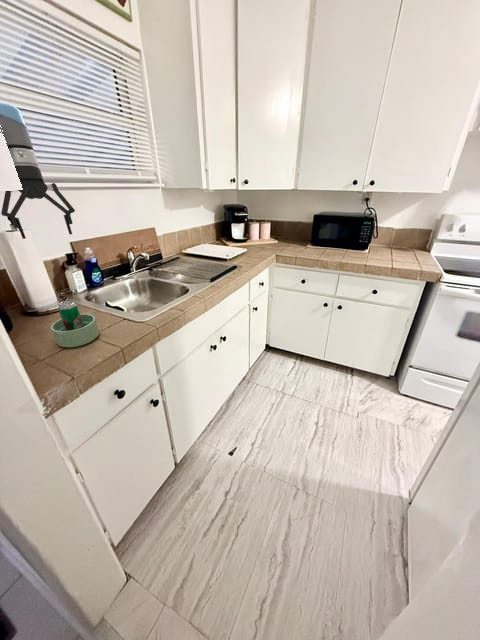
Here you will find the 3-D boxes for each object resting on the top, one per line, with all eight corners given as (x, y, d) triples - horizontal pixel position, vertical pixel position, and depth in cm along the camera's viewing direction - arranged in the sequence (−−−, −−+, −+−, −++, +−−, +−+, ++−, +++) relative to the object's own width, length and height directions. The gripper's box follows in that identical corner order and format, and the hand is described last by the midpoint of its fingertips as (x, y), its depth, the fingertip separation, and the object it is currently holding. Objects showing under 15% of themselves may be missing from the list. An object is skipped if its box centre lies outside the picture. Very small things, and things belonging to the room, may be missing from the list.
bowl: (47, 347, 80) (40, 330, 78) (74, 328, 91) (69, 312, 88) (84, 350, 79) (78, 333, 76) (107, 330, 90) (102, 314, 87)
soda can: (81, 341, 82) (69, 306, 77) (65, 340, 83) (52, 306, 77) (89, 332, 87) (79, 300, 81) (74, 332, 87) (63, 299, 81)
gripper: (-31, 162, 73) (1, 241, 81) (70, 165, 86) (89, 232, 94) (-26, 167, 79) (3, 240, 87) (69, 169, 92) (86, 232, 100)
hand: (48, 236), depth 90 cm, fingers open, 13 cm apart
